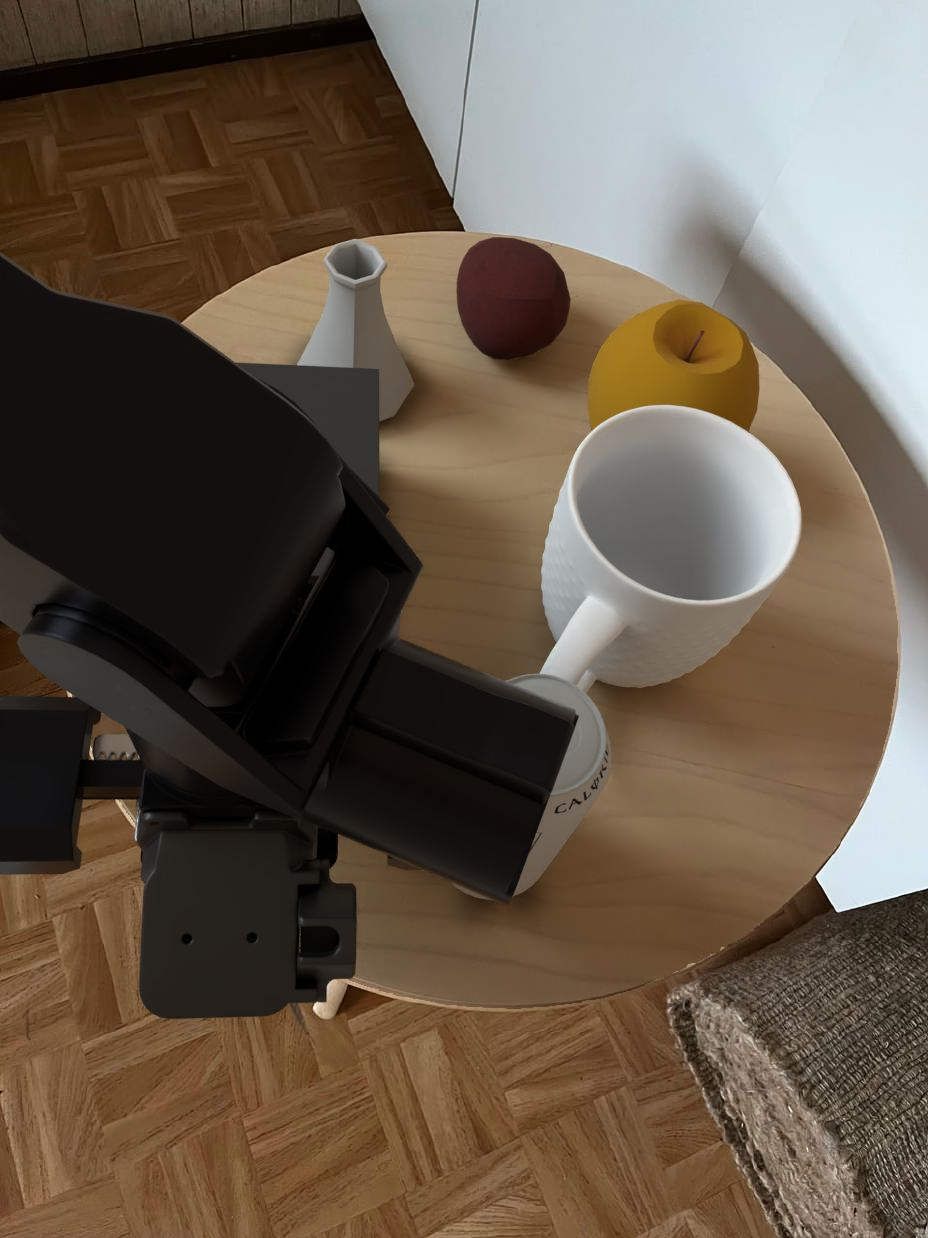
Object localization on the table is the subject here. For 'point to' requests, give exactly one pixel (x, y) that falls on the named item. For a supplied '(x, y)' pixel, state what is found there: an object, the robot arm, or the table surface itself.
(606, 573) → the mug
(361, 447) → the dark grey open box
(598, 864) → the table surface
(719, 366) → the apple
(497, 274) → the potato
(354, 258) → the flask
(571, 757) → the energy drink can
